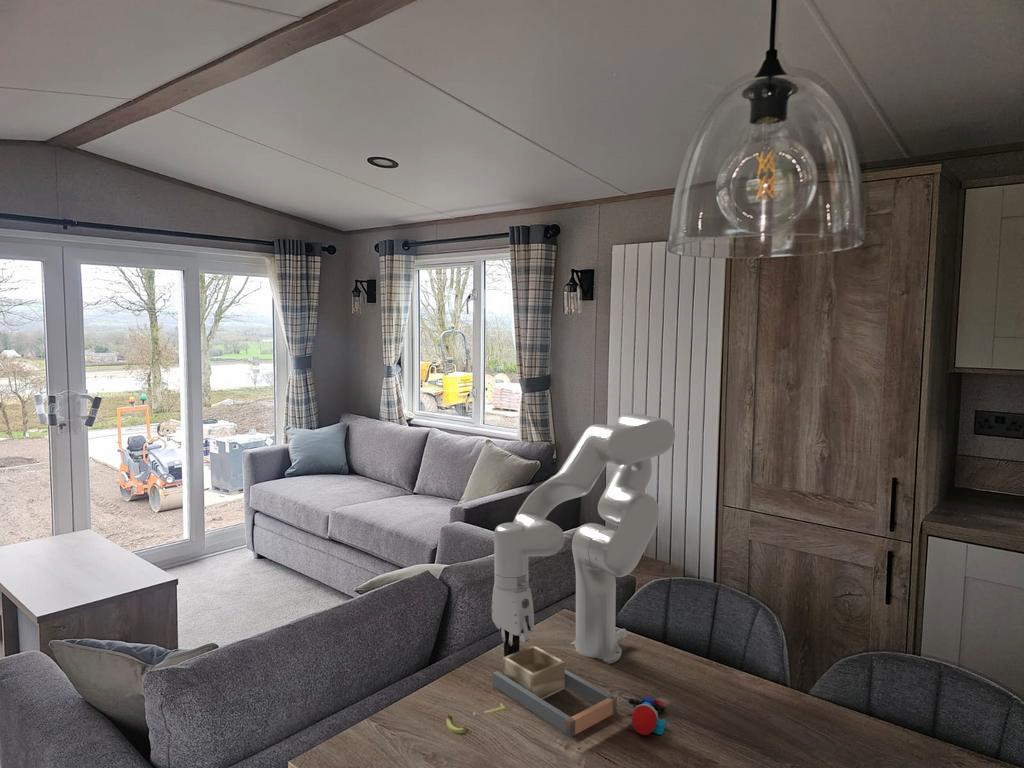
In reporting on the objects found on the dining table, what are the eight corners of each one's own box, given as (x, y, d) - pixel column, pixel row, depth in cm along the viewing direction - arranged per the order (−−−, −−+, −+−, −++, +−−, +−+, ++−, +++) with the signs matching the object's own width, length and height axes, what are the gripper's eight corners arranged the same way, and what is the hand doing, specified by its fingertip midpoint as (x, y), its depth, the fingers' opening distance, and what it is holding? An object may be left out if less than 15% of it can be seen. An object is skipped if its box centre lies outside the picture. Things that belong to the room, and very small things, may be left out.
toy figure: (629, 707, 143) (622, 736, 129) (631, 683, 143) (625, 710, 129) (665, 715, 141) (662, 746, 127) (668, 691, 141) (665, 719, 127)
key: (509, 717, 137) (508, 706, 137) (456, 738, 130) (456, 728, 130) (489, 701, 143) (489, 691, 143) (438, 721, 136) (438, 711, 136)
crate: (502, 684, 147) (502, 657, 146) (533, 670, 152) (533, 645, 152) (533, 703, 139) (533, 675, 138) (564, 688, 145) (564, 662, 144)
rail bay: (492, 691, 146) (492, 672, 146) (537, 671, 154) (537, 653, 154) (570, 743, 128) (570, 722, 127) (616, 718, 136) (616, 698, 136)
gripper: (546, 585, 146) (546, 666, 148) (503, 566, 158) (504, 642, 159) (519, 594, 141) (520, 678, 143) (477, 574, 153) (478, 651, 155)
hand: (511, 659), depth 151 cm, fingers closed
